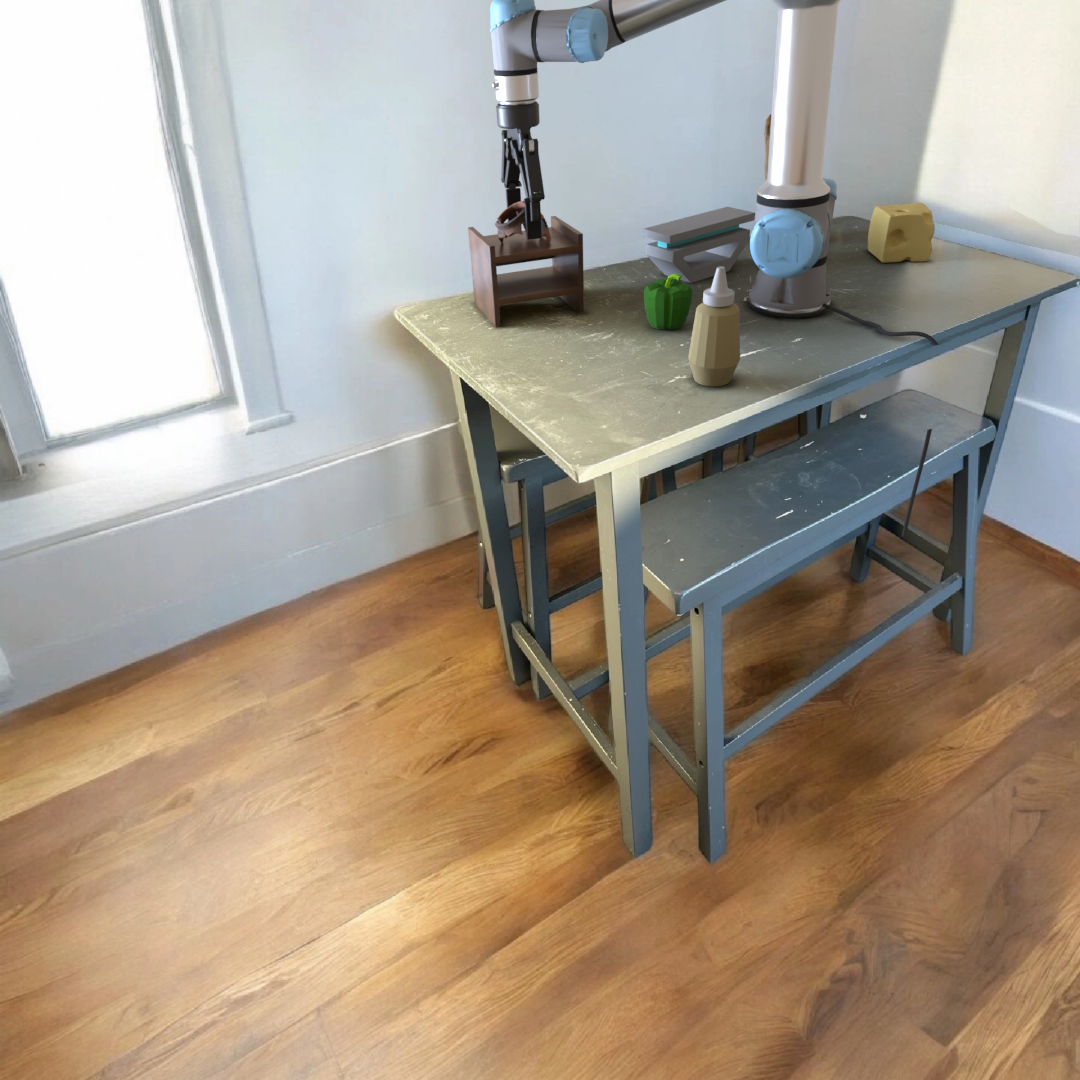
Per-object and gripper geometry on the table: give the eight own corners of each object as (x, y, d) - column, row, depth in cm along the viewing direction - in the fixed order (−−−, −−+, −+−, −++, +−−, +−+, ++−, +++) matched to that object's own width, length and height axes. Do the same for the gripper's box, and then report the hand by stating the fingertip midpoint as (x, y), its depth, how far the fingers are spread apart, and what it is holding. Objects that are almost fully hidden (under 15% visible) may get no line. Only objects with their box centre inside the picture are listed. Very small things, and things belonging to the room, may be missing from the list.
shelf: (584, 312, 166) (582, 233, 157) (495, 327, 161) (489, 246, 153) (557, 290, 177) (555, 215, 169) (474, 303, 173) (467, 227, 165)
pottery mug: (553, 250, 157) (530, 212, 152) (510, 272, 161) (486, 236, 156) (557, 218, 165) (535, 181, 160) (516, 239, 169) (493, 205, 164)
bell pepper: (635, 323, 160) (636, 269, 154) (673, 315, 162) (676, 262, 156) (658, 337, 153) (660, 282, 148) (697, 329, 156) (700, 274, 150)
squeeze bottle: (726, 394, 132) (736, 278, 122) (678, 384, 136) (684, 271, 126) (745, 375, 138) (756, 263, 128) (698, 366, 142) (706, 257, 131)
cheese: (929, 261, 182) (940, 213, 177) (879, 264, 183) (887, 215, 177) (912, 248, 191) (922, 201, 185) (864, 250, 191) (872, 203, 186)
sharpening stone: (723, 257, 192) (727, 206, 186) (750, 264, 186) (755, 212, 180) (641, 281, 180) (642, 228, 174) (667, 290, 174) (670, 235, 168)
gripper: (478, 96, 157) (488, 220, 169) (517, 111, 138) (524, 249, 151) (517, 92, 159) (524, 215, 171) (560, 107, 140) (564, 243, 153)
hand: (524, 231), depth 161 cm, fingers open, 11 cm apart
